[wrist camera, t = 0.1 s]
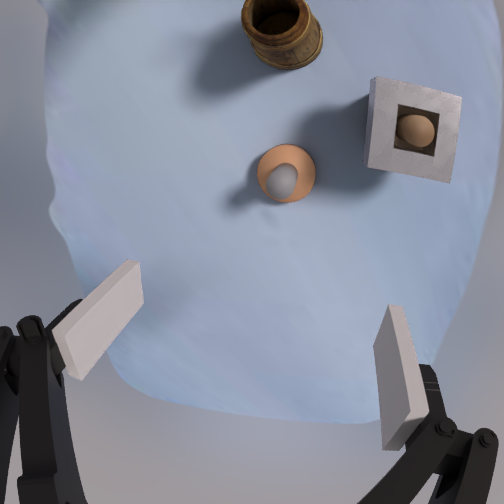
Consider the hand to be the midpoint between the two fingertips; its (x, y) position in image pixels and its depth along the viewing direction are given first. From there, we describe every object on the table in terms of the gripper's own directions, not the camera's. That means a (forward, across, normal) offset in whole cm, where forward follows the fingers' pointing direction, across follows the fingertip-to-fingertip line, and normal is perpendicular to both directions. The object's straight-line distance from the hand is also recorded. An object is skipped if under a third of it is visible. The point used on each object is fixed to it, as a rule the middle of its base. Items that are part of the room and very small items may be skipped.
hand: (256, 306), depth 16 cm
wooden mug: (+28, -3, +21) cm, 35 cm away
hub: (+28, -2, +1) cm, 28 cm away
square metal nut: (+22, +11, +9) cm, 26 cm away
